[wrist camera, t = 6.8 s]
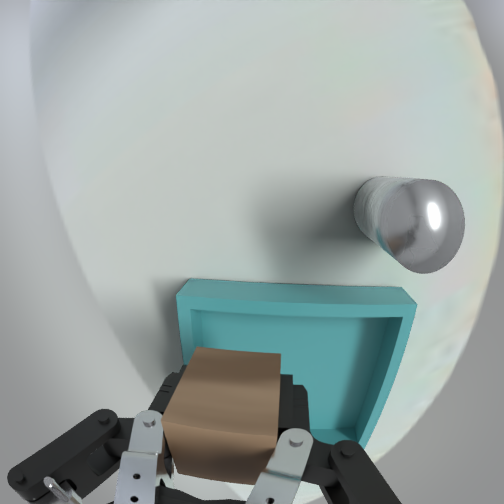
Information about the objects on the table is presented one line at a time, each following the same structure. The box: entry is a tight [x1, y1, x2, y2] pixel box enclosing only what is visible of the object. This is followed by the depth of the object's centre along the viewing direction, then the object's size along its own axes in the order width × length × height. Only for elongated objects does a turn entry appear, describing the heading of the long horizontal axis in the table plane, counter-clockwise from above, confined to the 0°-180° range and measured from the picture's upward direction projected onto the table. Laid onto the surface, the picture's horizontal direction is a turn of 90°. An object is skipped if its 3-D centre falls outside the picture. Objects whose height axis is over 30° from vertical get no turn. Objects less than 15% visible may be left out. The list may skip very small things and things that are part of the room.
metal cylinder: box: [354, 176, 465, 274], centre depth 13 cm, size 4×4×6 cm
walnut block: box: [161, 346, 281, 485], centre depth 11 cm, size 4×4×5 cm
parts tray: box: [176, 278, 417, 449], centre depth 18 cm, size 14×14×3 cm
